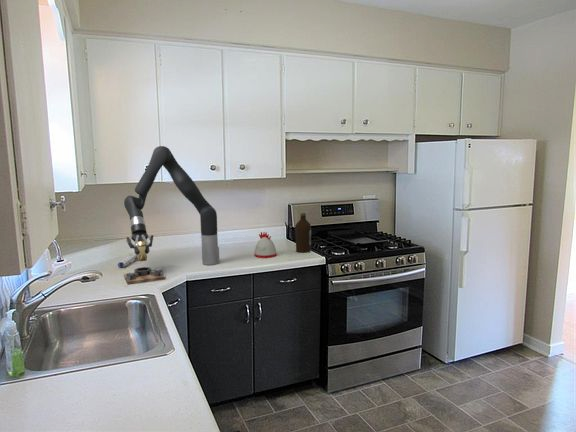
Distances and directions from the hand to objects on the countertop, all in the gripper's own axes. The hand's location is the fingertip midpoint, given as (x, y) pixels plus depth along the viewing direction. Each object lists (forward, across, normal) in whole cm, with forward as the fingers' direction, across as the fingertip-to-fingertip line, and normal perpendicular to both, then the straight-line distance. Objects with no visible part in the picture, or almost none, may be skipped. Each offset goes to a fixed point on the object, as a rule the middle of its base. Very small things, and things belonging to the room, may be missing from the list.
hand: (142, 253), depth 213 cm
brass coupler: (+2, 0, +4) cm, 5 cm away
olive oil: (+1, +101, +15) cm, 103 cm away
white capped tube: (-16, -2, +35) cm, 39 cm away
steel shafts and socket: (+9, 0, +7) cm, 11 cm away
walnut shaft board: (+10, 0, +8) cm, 13 cm away
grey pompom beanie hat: (0, +75, +17) cm, 77 cm away
